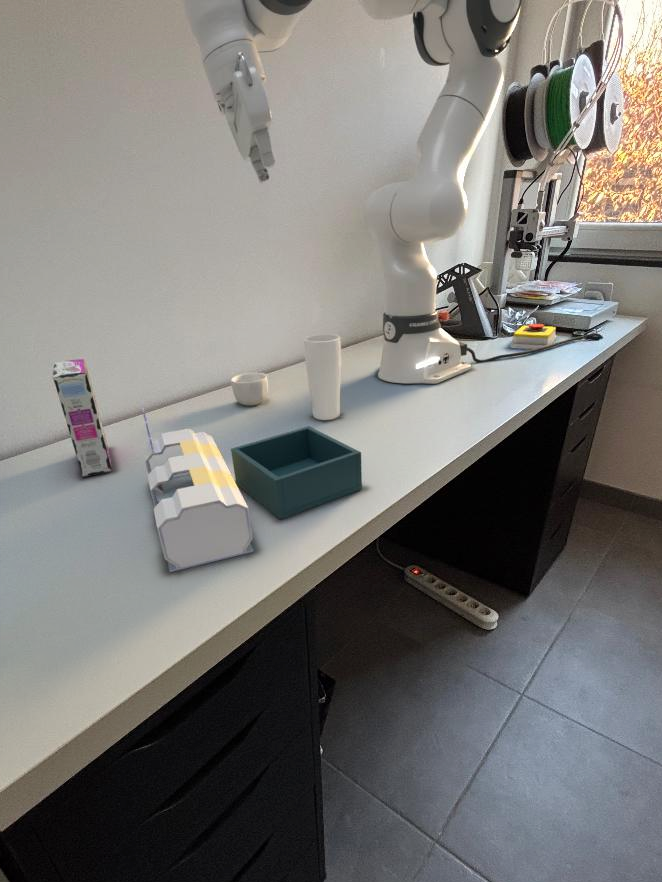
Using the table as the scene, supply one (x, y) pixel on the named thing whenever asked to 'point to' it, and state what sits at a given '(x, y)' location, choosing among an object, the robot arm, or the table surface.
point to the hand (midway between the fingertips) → (267, 174)
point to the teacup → (250, 388)
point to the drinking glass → (324, 374)
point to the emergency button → (533, 336)
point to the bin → (297, 470)
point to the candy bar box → (82, 416)
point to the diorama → (196, 502)
